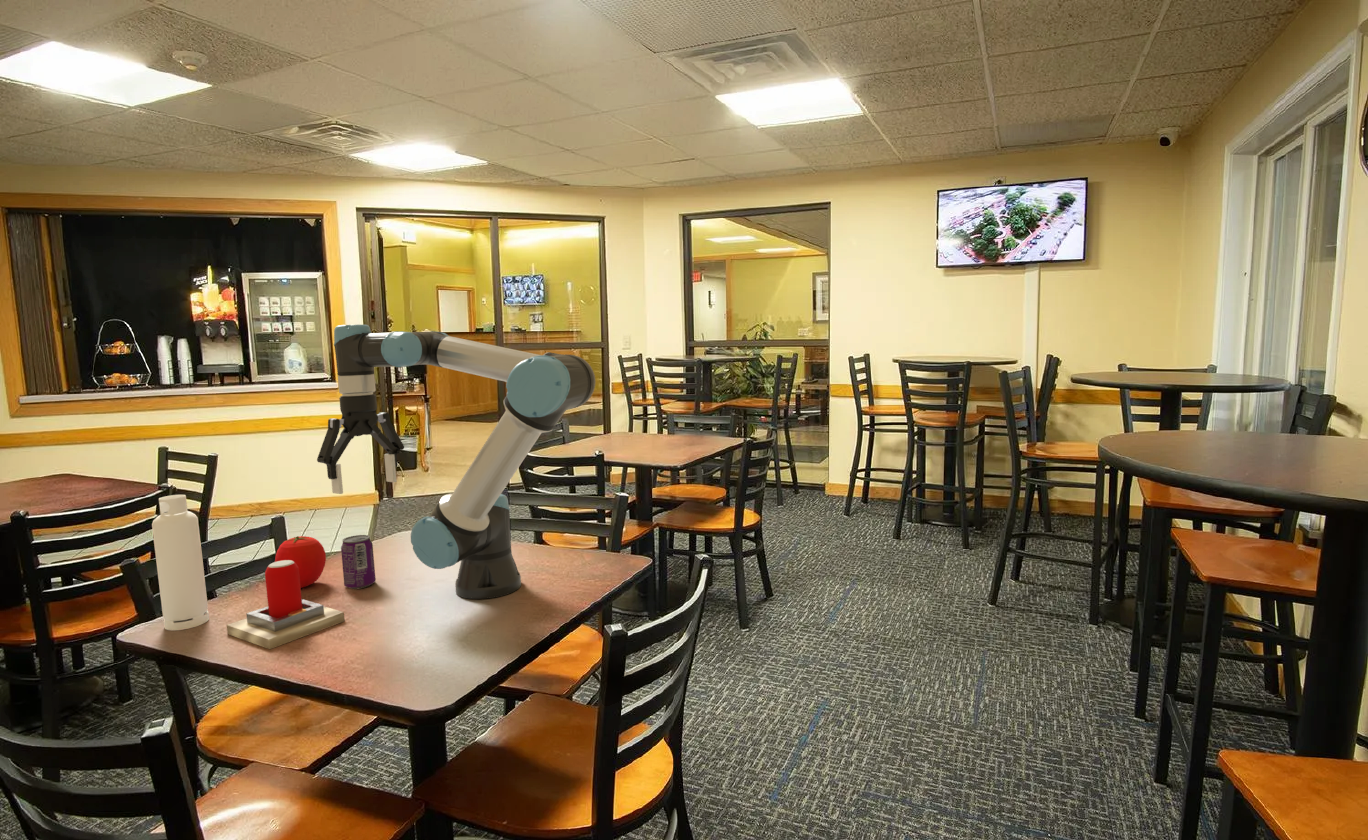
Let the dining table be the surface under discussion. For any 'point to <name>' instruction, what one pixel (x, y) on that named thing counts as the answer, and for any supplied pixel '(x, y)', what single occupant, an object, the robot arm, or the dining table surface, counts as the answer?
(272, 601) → the beverage can
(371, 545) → the beverage can
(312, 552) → the tomato
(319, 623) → the hub board
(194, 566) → the bottle
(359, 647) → the dining table surface
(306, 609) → the frame
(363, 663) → the dining table surface
